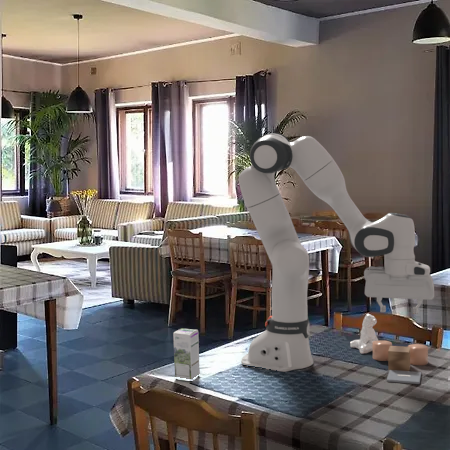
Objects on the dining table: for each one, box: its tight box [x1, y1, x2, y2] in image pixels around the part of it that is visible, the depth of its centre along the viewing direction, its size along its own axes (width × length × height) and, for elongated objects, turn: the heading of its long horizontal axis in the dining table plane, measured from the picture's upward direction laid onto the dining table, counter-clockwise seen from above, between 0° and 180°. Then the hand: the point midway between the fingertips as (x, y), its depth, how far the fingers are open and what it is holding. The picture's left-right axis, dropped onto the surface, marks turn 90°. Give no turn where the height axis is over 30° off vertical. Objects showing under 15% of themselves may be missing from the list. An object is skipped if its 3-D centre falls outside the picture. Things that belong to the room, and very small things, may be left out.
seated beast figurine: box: [349, 313, 379, 354], centre depth 226 cm, size 10×9×12 cm
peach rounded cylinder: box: [407, 343, 429, 366], centre depth 210 cm, size 6×6×5 cm
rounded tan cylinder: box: [372, 339, 393, 362], centre depth 216 cm, size 6×6×5 cm
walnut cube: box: [387, 345, 411, 371], centre depth 205 cm, size 6×6×6 cm
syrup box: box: [172, 328, 201, 379], centre depth 200 cm, size 6×6×14 cm
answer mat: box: [386, 370, 422, 385], centre depth 196 cm, size 9×9×1 cm
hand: (399, 312), depth 204 cm, fingers open, 8 cm apart
